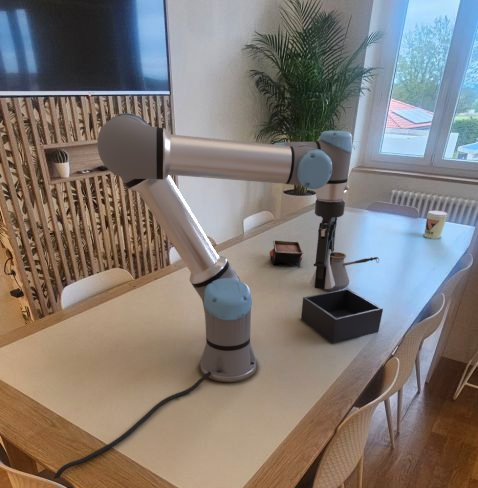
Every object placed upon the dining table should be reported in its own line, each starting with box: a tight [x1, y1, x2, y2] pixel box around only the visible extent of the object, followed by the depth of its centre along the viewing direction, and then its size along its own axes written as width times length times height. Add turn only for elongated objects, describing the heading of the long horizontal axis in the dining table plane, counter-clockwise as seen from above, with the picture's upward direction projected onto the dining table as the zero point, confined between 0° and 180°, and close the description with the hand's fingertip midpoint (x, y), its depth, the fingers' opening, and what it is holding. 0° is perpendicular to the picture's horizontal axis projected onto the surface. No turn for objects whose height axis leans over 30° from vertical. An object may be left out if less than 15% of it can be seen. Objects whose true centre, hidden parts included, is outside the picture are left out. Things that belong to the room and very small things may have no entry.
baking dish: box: [269, 239, 304, 268], centre depth 188 cm, size 14×18×10 cm
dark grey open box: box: [300, 287, 384, 344], centre depth 138 cm, size 18×18×8 cm
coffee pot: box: [324, 251, 380, 292], centre depth 160 cm, size 21×12×15 cm, turn 54°
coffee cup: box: [423, 210, 448, 240], centre depth 222 cm, size 9×9×12 cm
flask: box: [309, 249, 335, 290], centre depth 122 cm, size 7×7×10 cm
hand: (322, 283), depth 124 cm, fingers closed on flask, 7 cm apart
